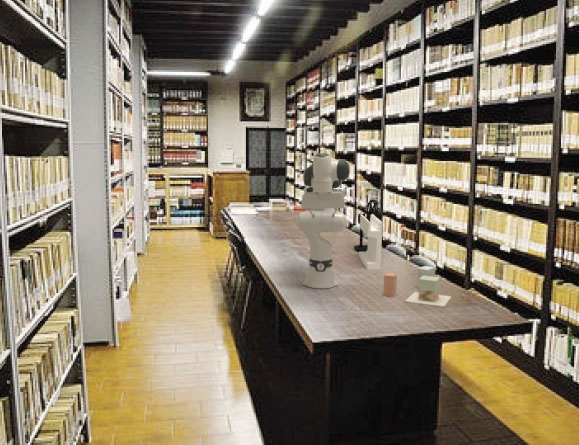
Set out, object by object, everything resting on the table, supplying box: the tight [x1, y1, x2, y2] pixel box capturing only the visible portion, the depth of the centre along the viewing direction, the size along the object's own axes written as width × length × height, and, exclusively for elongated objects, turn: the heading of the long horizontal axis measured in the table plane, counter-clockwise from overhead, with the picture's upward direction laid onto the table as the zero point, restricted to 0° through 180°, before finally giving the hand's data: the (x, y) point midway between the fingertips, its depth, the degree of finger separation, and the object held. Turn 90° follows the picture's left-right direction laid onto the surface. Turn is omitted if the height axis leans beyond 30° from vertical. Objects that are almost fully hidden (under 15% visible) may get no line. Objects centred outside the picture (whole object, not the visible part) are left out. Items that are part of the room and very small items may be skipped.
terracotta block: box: [382, 272, 398, 297], centre depth 272 cm, size 5×5×10 cm
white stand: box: [358, 213, 383, 270], centre depth 341 cm, size 35×8×28 cm, turn 0°
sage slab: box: [418, 276, 441, 292], centre depth 264 cm, size 8×8×5 cm
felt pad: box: [404, 291, 452, 308], centre depth 265 cm, size 18×18×1 cm
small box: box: [416, 265, 436, 289], centre depth 285 cm, size 8×6×10 cm
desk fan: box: [353, 199, 383, 252], centre depth 381 cm, size 27×18×35 cm, turn 1°
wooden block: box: [418, 288, 440, 302], centre depth 264 cm, size 8×8×5 cm
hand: (323, 218), depth 260 cm, fingers open, 8 cm apart
